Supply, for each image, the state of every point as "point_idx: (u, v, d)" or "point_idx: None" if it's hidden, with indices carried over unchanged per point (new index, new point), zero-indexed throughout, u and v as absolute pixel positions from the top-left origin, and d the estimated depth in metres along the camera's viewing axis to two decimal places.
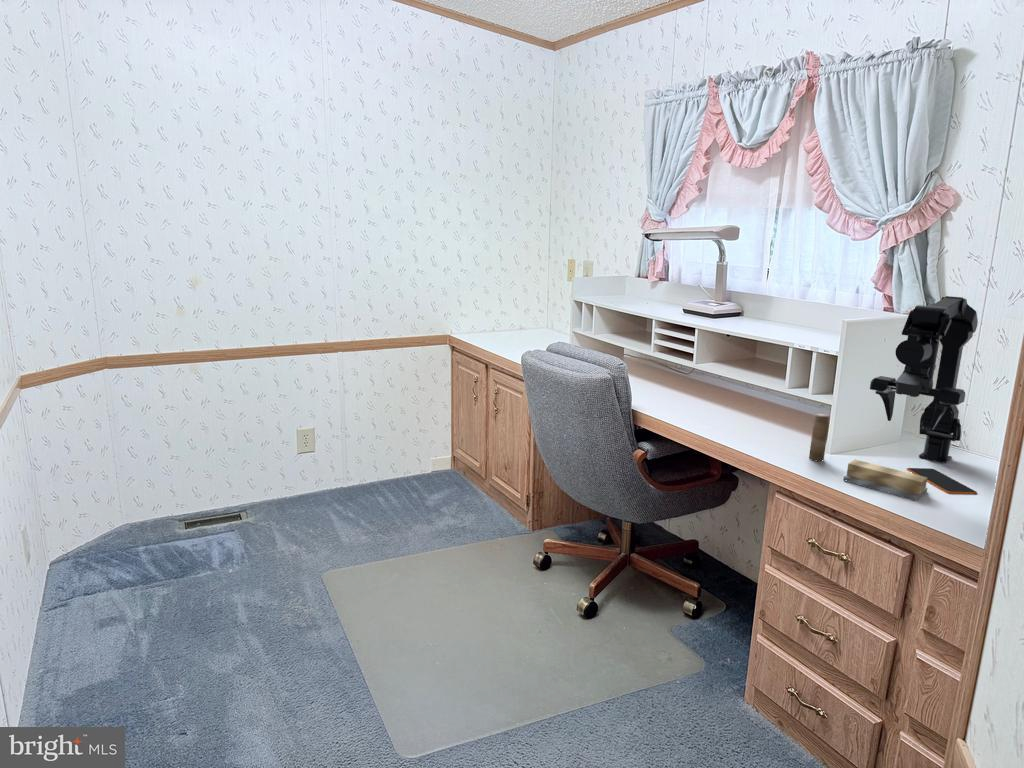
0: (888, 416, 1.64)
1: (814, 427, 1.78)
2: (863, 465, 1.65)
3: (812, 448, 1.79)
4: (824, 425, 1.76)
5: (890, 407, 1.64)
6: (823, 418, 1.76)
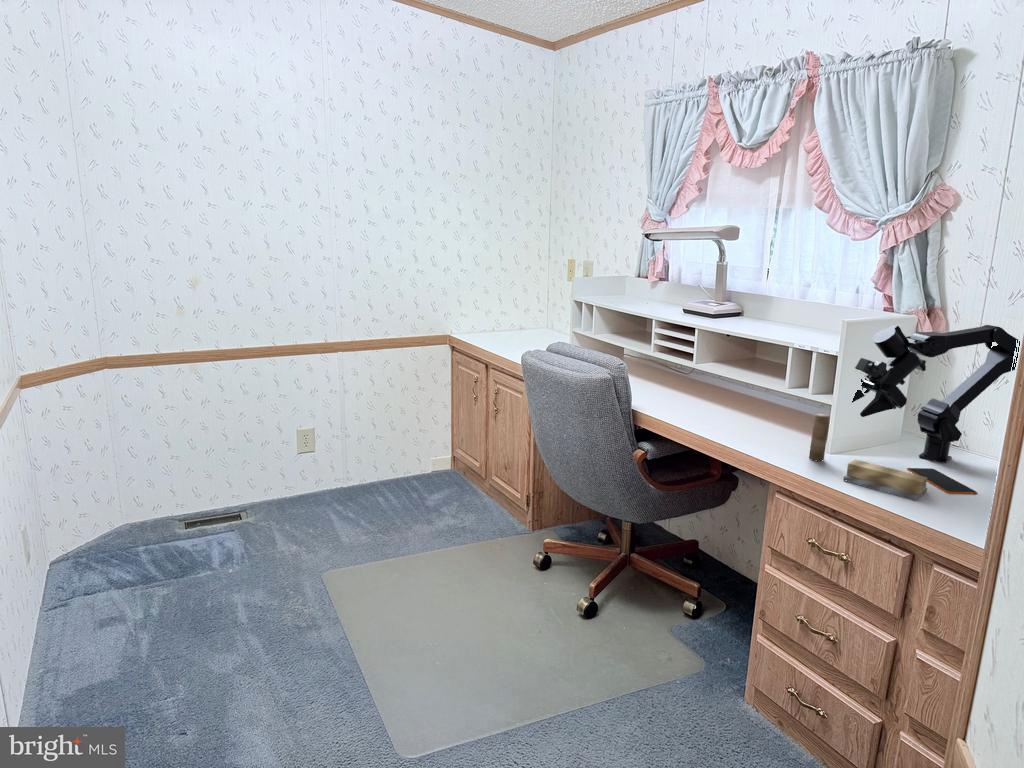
0: None
1: (814, 427, 1.78)
2: (863, 465, 1.65)
3: (812, 448, 1.79)
4: (824, 425, 1.76)
5: None
6: (823, 418, 1.76)
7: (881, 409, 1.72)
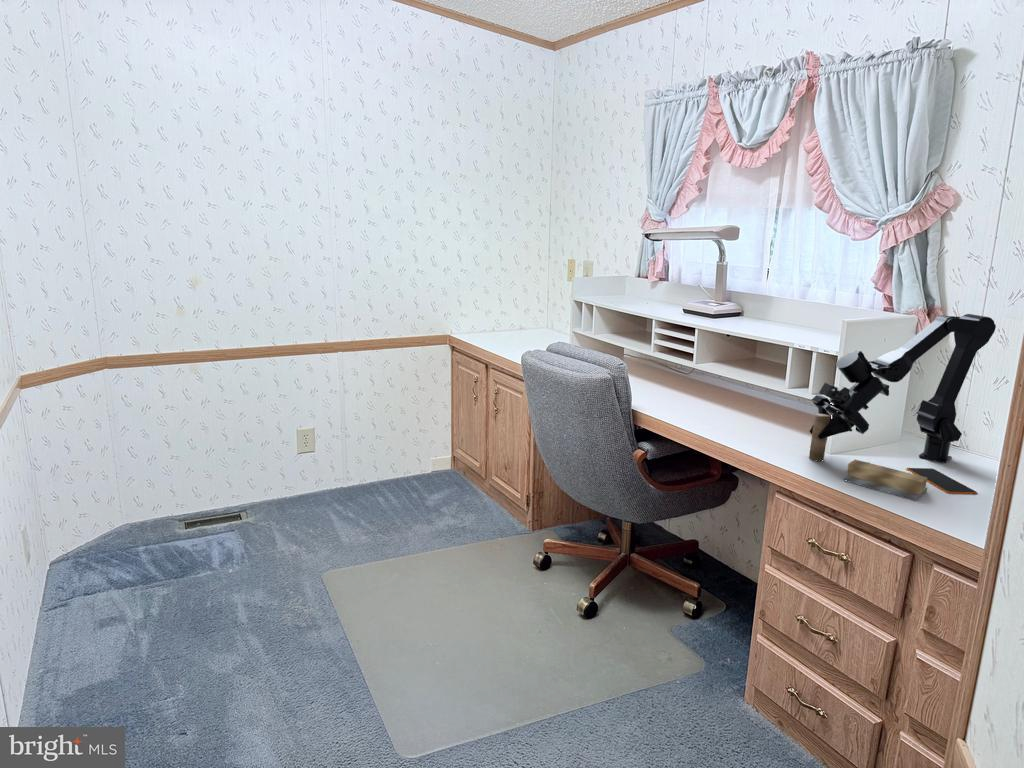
0: (812, 428, 1.81)
1: (814, 427, 1.78)
2: (863, 465, 1.65)
3: (812, 448, 1.79)
4: (824, 425, 1.76)
5: None
6: (823, 418, 1.76)
7: (838, 431, 1.75)
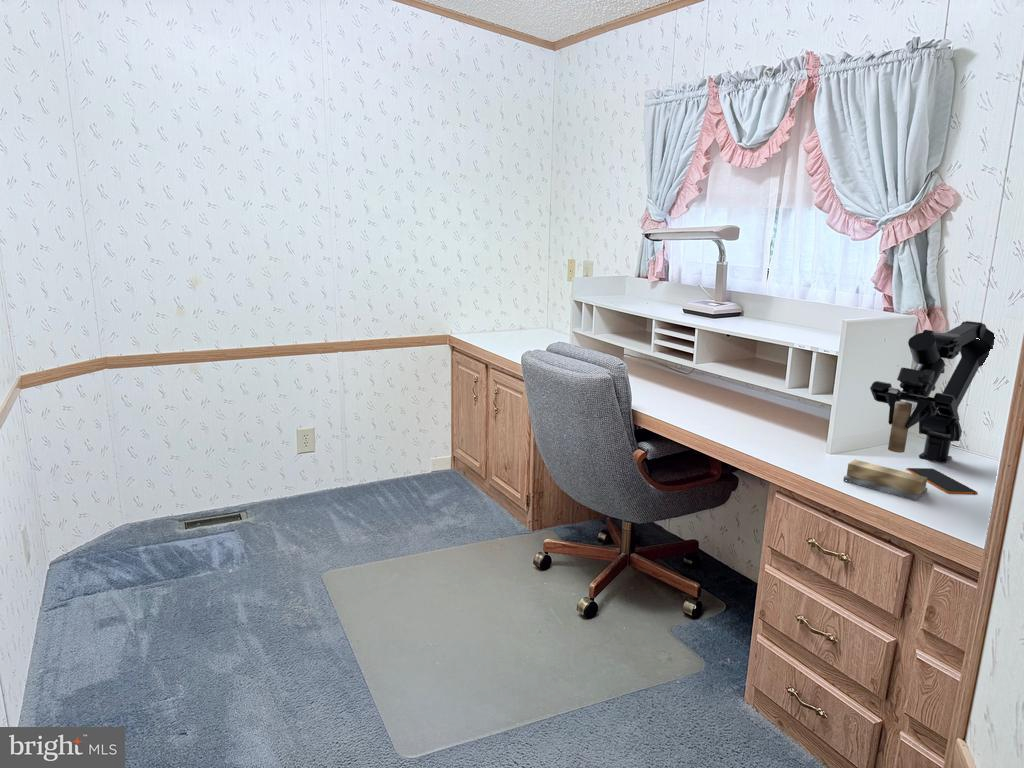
0: (890, 418, 1.67)
1: (898, 417, 1.65)
2: (863, 465, 1.65)
3: (897, 439, 1.66)
4: (909, 413, 1.64)
5: None
6: (909, 406, 1.63)
7: (922, 417, 1.65)
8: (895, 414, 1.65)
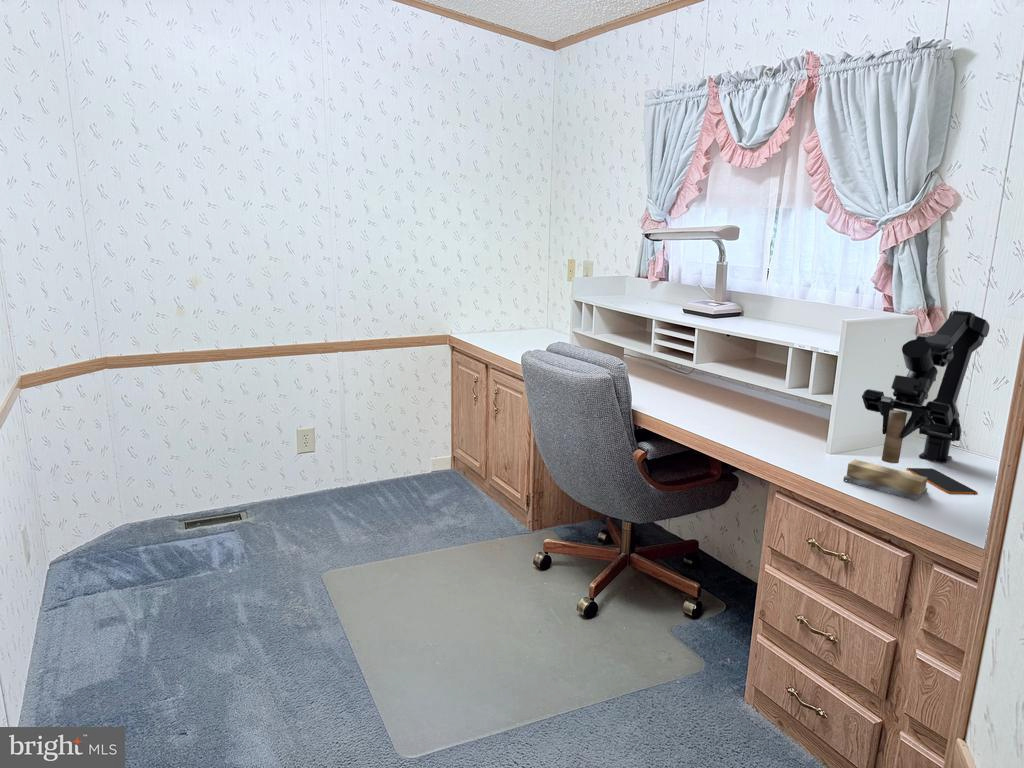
0: (884, 427, 1.61)
1: (893, 426, 1.59)
2: (863, 465, 1.65)
3: (892, 449, 1.60)
4: (904, 423, 1.58)
5: None
6: (904, 415, 1.58)
7: (916, 427, 1.59)
8: (890, 423, 1.59)
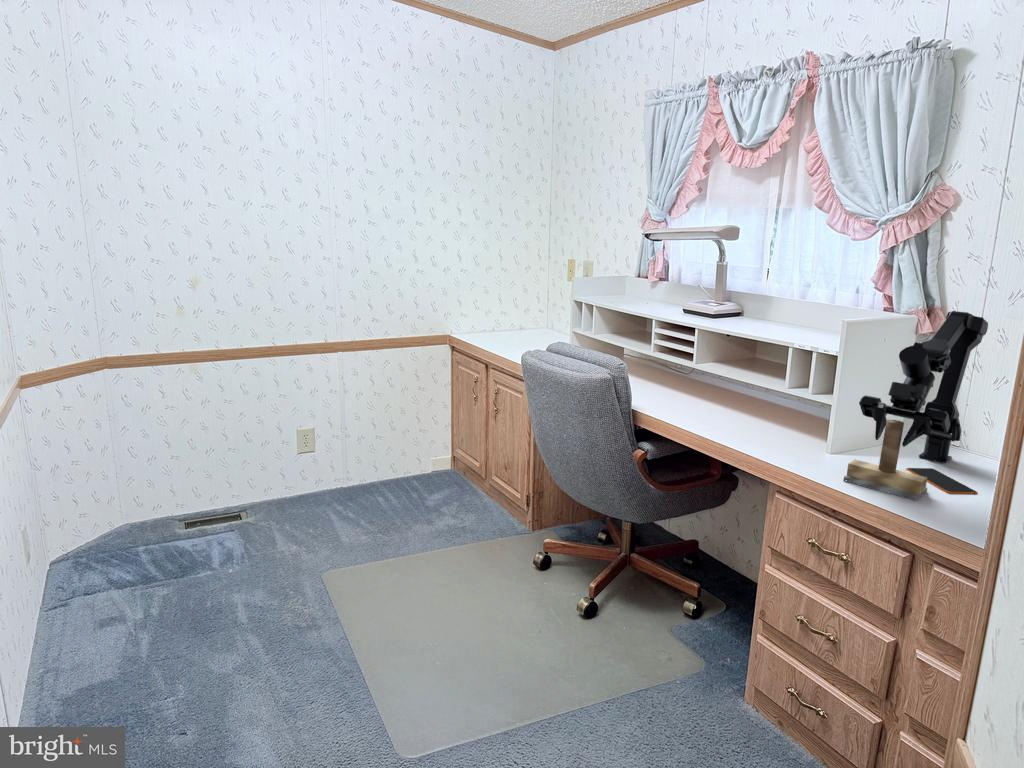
0: (877, 433, 1.61)
1: (890, 436, 1.58)
2: (863, 465, 1.65)
3: (888, 459, 1.59)
4: (901, 432, 1.58)
5: (881, 426, 1.62)
6: (901, 425, 1.57)
7: (918, 435, 1.58)
8: (886, 433, 1.59)
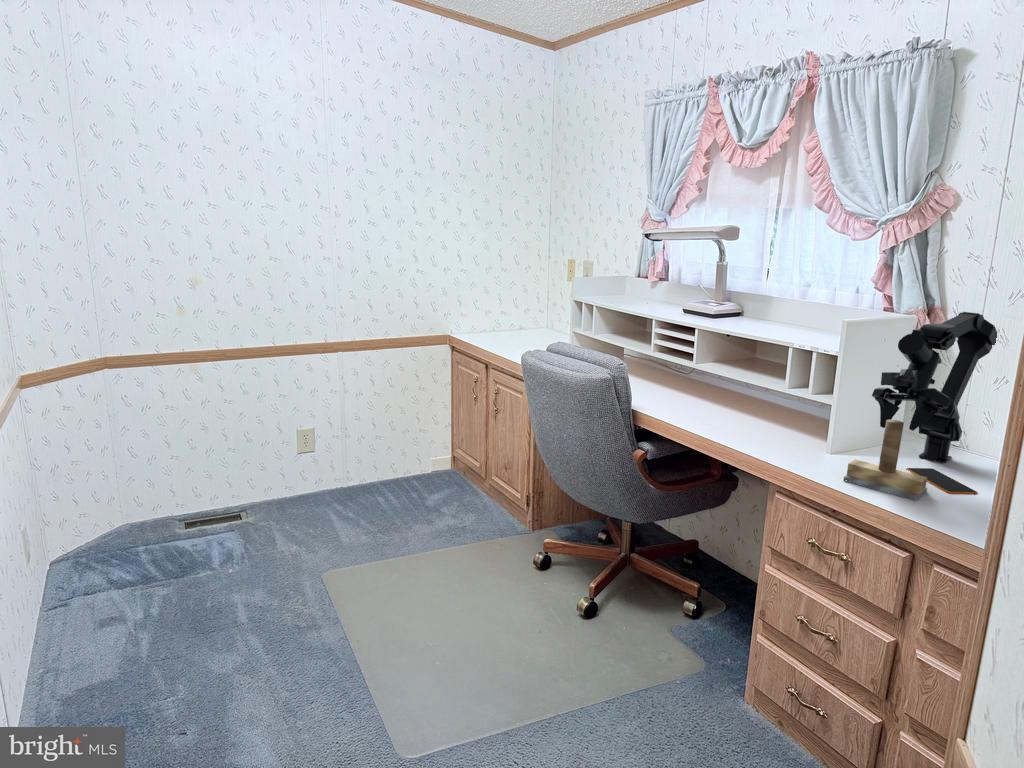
0: (881, 421, 1.72)
1: (890, 436, 1.58)
2: (863, 465, 1.65)
3: (888, 459, 1.59)
4: (901, 432, 1.58)
5: (885, 414, 1.72)
6: (901, 425, 1.57)
7: (928, 416, 1.62)
8: (886, 433, 1.59)
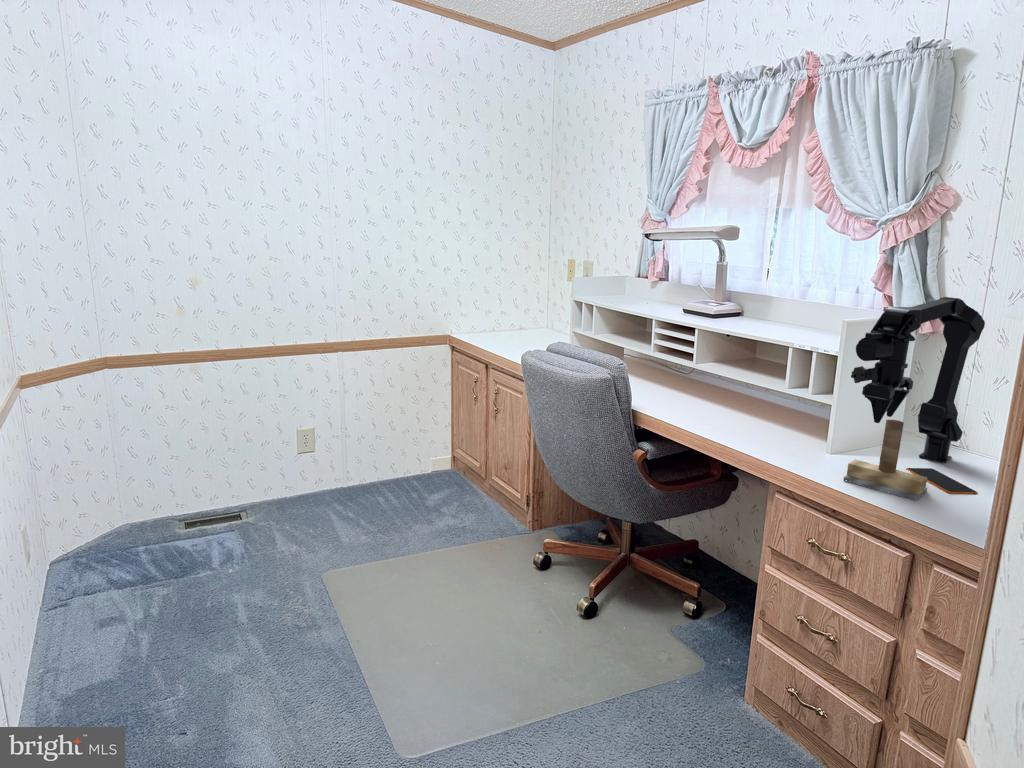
0: None
1: (890, 436, 1.58)
2: (863, 465, 1.65)
3: (888, 459, 1.59)
4: (901, 432, 1.58)
5: None
6: (901, 425, 1.57)
7: (884, 407, 1.66)
8: (886, 433, 1.59)
